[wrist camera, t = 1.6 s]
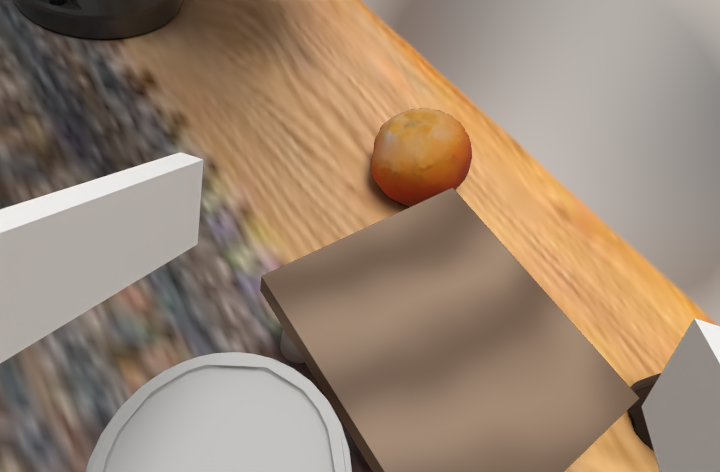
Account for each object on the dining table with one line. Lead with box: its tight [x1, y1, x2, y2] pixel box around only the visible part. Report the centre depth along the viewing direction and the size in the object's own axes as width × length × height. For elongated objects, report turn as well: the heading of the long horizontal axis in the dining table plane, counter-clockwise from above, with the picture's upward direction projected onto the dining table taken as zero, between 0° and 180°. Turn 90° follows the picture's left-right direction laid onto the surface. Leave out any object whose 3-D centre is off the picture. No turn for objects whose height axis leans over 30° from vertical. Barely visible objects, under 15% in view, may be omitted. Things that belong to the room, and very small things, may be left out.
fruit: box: [371, 108, 472, 207], centre depth 41 cm, size 8×8×8 cm
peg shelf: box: [260, 188, 639, 472], centre depth 30 cm, size 16×14×8 cm
